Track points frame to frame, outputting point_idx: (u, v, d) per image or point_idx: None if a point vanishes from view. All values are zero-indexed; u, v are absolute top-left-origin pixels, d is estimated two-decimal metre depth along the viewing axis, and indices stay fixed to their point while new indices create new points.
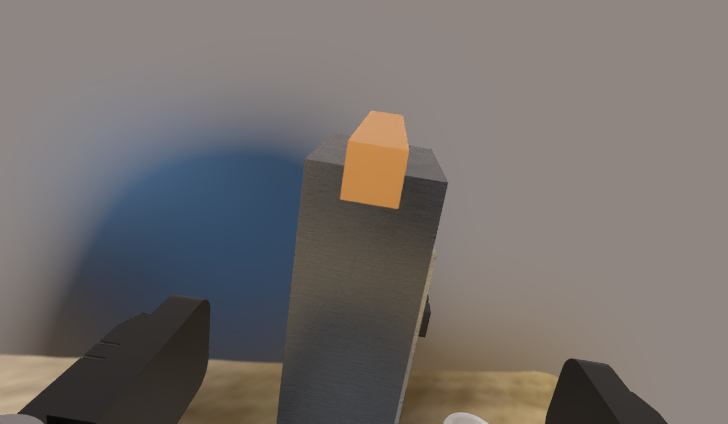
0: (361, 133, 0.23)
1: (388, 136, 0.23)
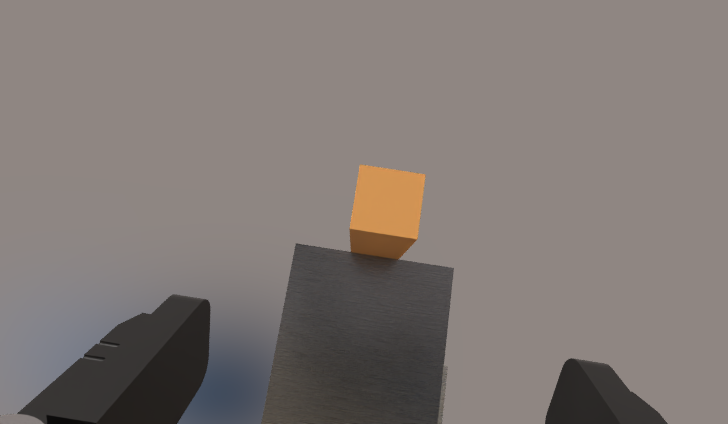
0: None
1: None
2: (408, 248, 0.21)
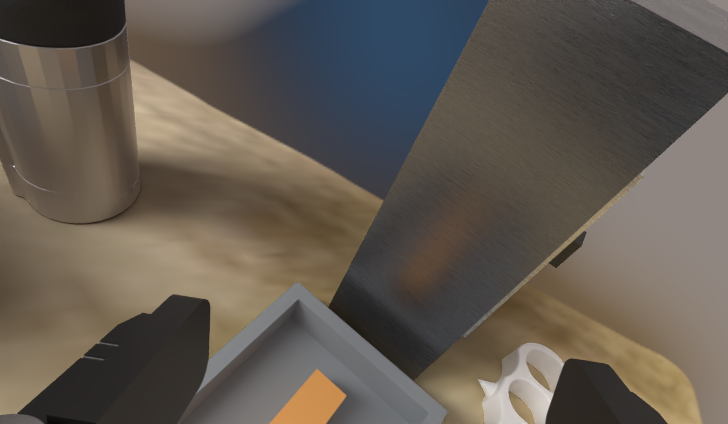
0: None
1: None
2: None
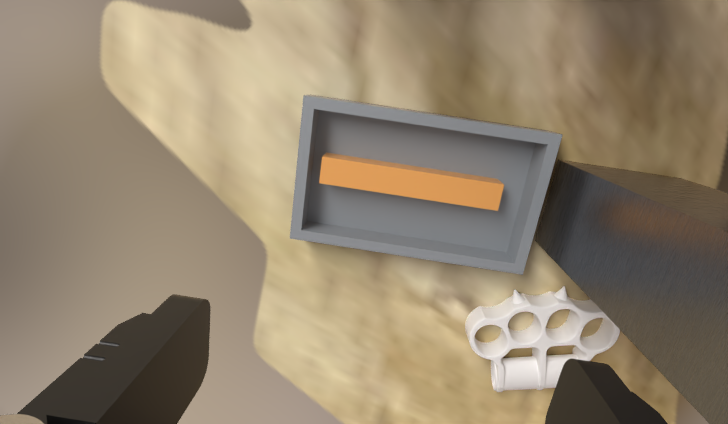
0: (350, 164, 0.45)
1: (354, 178, 0.45)
2: None
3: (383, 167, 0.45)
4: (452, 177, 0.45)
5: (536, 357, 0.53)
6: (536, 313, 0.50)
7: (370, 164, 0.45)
